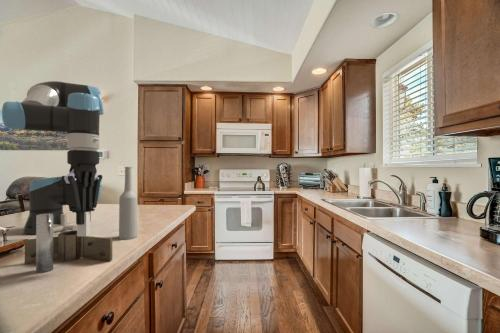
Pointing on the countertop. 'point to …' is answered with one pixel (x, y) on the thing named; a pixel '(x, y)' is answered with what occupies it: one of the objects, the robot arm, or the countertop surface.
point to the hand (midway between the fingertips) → (83, 235)
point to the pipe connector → (64, 225)
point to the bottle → (128, 209)
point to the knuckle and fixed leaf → (58, 247)
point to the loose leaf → (97, 248)
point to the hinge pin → (44, 243)
